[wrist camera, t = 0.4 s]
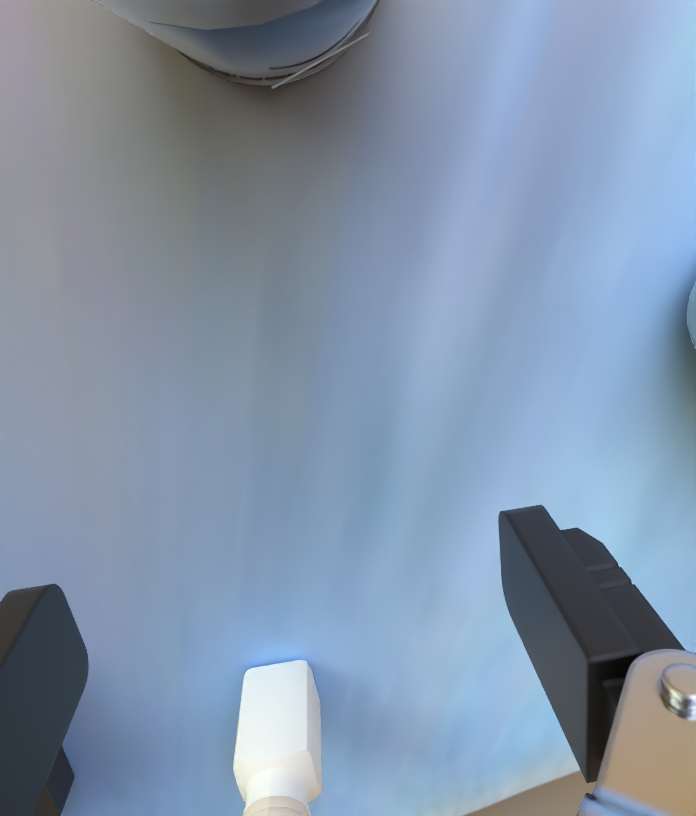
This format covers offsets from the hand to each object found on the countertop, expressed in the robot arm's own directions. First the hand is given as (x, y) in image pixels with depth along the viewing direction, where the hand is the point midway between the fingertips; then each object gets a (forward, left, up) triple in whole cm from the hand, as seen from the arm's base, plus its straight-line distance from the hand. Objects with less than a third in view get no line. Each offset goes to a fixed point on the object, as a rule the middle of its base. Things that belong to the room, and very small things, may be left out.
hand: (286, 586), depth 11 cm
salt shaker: (+22, -4, -18) cm, 29 cm away
